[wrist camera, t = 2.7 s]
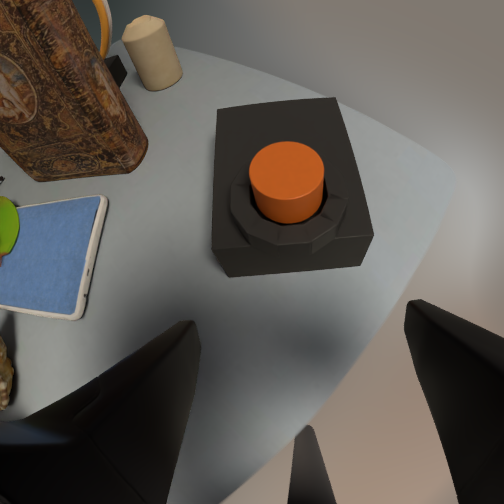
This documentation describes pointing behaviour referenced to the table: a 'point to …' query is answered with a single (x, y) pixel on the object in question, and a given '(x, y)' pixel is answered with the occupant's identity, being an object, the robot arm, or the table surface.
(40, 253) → the tablet
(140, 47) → the candle
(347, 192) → the button base
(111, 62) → the lamp
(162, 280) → the table surface
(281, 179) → the power button
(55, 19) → the book
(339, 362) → the table surface
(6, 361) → the seashell
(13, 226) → the decorative leaf
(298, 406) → the table surface
